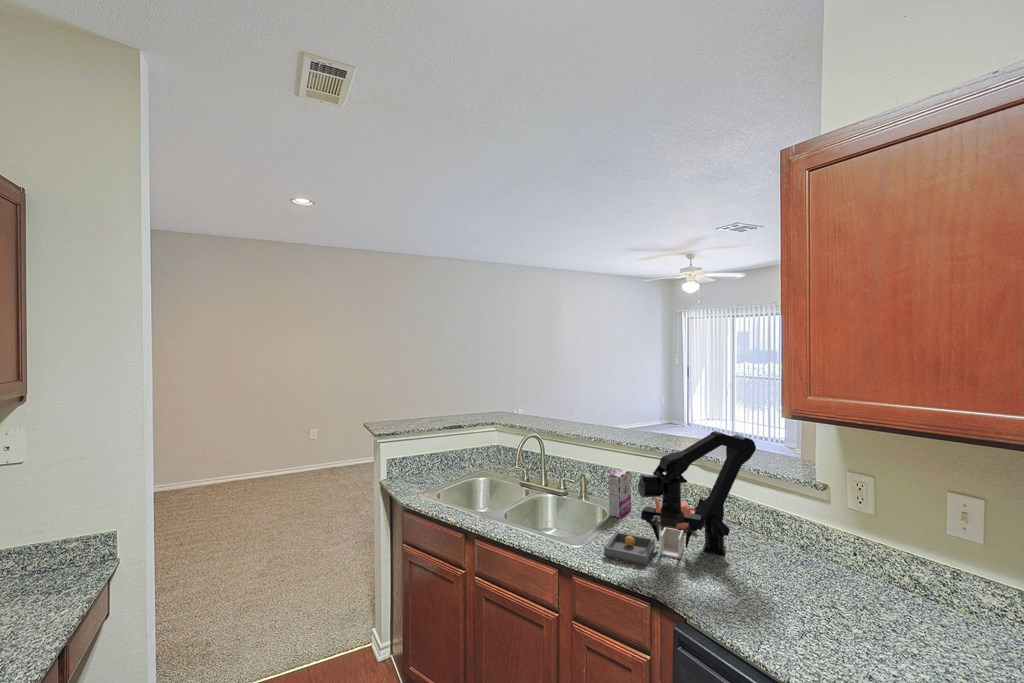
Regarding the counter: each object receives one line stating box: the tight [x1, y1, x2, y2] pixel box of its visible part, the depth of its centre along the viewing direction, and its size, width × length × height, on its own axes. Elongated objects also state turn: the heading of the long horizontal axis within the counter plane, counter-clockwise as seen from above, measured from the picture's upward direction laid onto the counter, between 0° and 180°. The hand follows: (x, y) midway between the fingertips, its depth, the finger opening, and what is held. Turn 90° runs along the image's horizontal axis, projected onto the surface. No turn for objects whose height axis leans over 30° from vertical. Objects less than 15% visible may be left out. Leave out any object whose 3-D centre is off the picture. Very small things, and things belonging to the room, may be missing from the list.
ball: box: [625, 536, 635, 546], centre depth 147 cm, size 3×3×3 cm
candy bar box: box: [608, 468, 632, 519], centre depth 179 cm, size 11×5×16 cm, turn 143°
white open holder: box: [659, 526, 685, 560], centre depth 144 cm, size 8×6×6 cm
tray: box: [603, 531, 656, 567], centre depth 144 cm, size 14×13×3 cm
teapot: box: [652, 497, 696, 530], centre depth 168 cm, size 12×18×10 cm
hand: (672, 543), depth 144 cm, fingers open, 8 cm apart
